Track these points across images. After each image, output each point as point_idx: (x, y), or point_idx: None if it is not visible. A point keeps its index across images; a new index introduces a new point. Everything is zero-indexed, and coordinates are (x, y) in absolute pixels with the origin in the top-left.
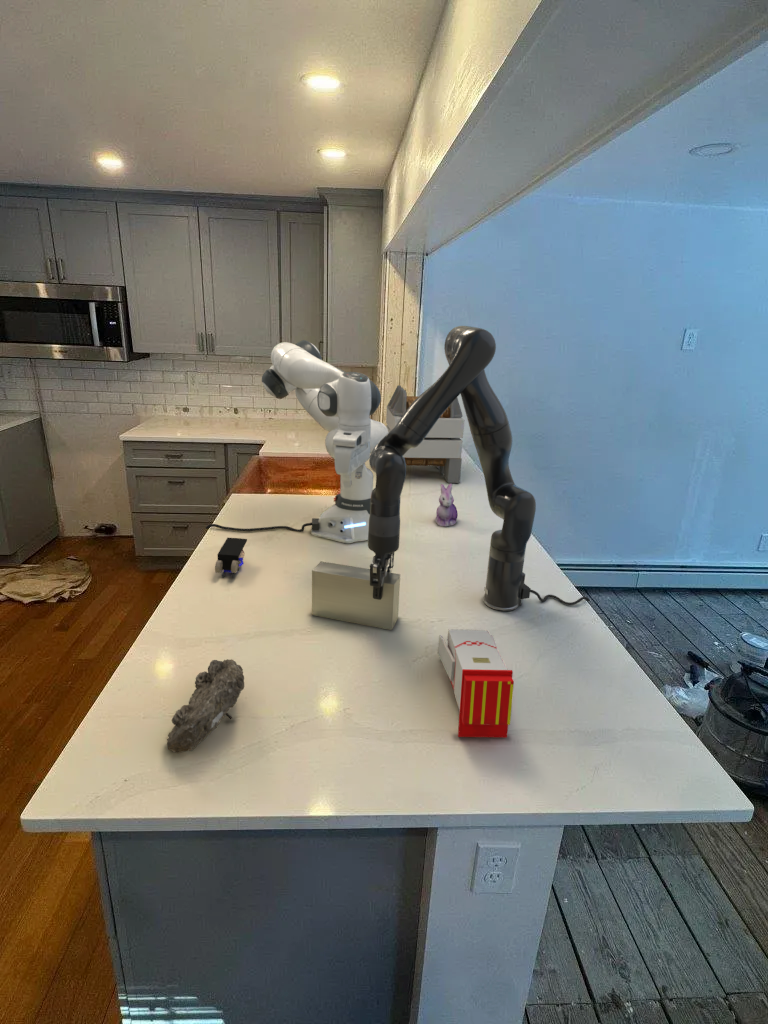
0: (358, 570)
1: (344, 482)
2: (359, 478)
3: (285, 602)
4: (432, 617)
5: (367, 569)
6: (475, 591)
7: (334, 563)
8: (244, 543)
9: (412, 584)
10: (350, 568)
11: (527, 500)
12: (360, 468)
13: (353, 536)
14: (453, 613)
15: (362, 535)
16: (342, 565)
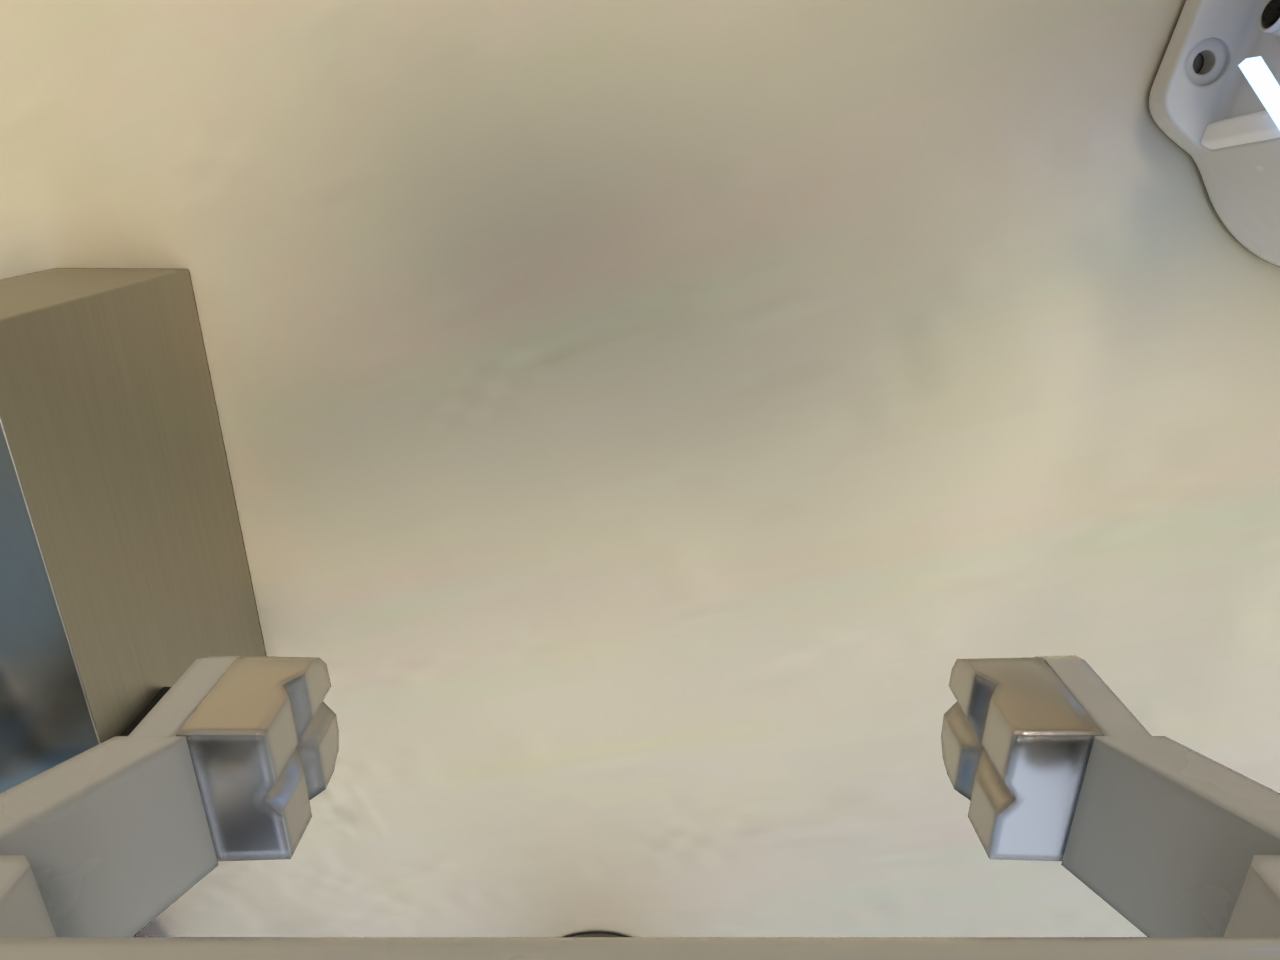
0: (14, 632)
1: (148, 726)
2: (944, 741)
3: (87, 37)
4: (355, 786)
5: (68, 677)
6: (669, 897)
7: (5, 444)
8: None
9: (635, 656)
10: (7, 576)
11: None
12: (1172, 901)
13: (1217, 140)
14: (430, 848)
15: (1254, 206)
16: (15, 510)
